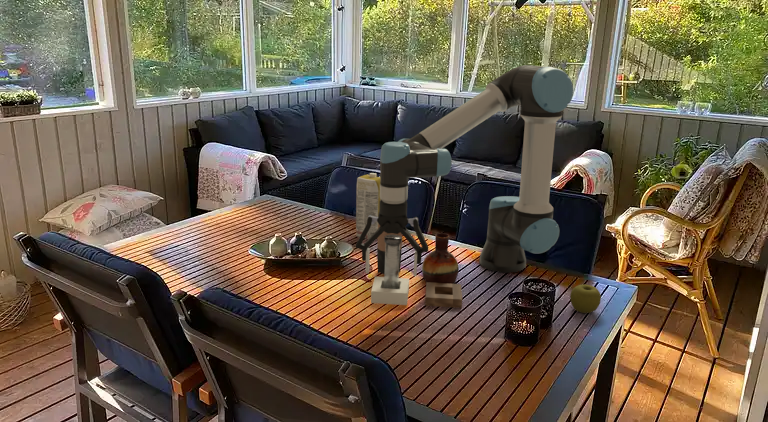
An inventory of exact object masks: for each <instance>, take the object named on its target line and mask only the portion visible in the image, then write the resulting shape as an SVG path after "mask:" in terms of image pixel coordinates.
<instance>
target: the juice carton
mask: <svg viewBox="0 0 768 422" xmlns="http://www.w3.org/2000/svg"><path fill="white" fill-rule="evenodd" d="M355 195H356V196H355V197H356V199H355V200H356V202H355V205H356V206H355V207H356V209H355V210H356V211H355V212H356V213H355V228H356V229H355V231H356V233H355V234H356V237H358V238H360V236H361V234H362V232H363V230H364V228H365V226H366V225H367V219H368V216H369V215H372V216H374V217H378V214H379V205H380V200H381V199H380V176H377V173H376V172H375V173H374V172H370V173H369V174H364V175H360V176H359V177H357V178H356V194H355ZM377 230H378V222H377V221H376V222H375V223H374V224H371V227H370V229H369V231H368V233H367V235H366V236H365V238H364V239H366V240H368V239H369V238H370V237H371V236H372V235H373V234H374V233H375V232H376V231H377Z"/></svg>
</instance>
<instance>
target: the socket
mask: <svg viewBox="0 0 768 422" xmlns="http://www.w3.org/2000/svg"><path fill="white" fill-rule="evenodd" d="M373 279H374V280H373V283H372V287H371V290H370V291H371V292H370V303H371V304H379V305H381V304H384V305H394V306H395V305H396V306H397V305H398V306H399V305H400V306H408V299H409V292H410V278H406V277H405V278H404V277H403V278H402V277H398V289H385V288H384V276H374V278H373Z"/></svg>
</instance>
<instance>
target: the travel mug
mask: <svg viewBox="0 0 768 422" xmlns="http://www.w3.org/2000/svg"><path fill="white" fill-rule="evenodd" d="M378 217H379V214H378ZM379 227H380V225H379V223H378V228H379ZM386 235H399V236H401V237H402V238H403V235H402V234H401V233H398V234H394V233H386V232H383V233H382V234H381V235H380V236H379V237H378V238H377V244H376V245H377V247H376V249H377V250H376V251H377V254H376V256H377V257H376V258H377V263H376V264H377V267H376V268H377V274H380V275H381V274H382V275H384V273H385V248H386V243H385V242H384V237H385V236H386ZM402 247H403V242H402V243H400V257H399V273H400V272H401V267H402V265H401V263H402Z"/></svg>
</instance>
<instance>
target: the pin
mask: <svg viewBox="0 0 768 422" xmlns="http://www.w3.org/2000/svg"><path fill="white" fill-rule="evenodd" d="M384 242H385V243H386V248H385V273H384V274H383V275H384V276H383V277H384V288H385V289H398V278H400V277H399V274H400V272H399V257H400V243H402V244H403V236H402V237H401V236H399V235H386V236H385V237H384Z"/></svg>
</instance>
